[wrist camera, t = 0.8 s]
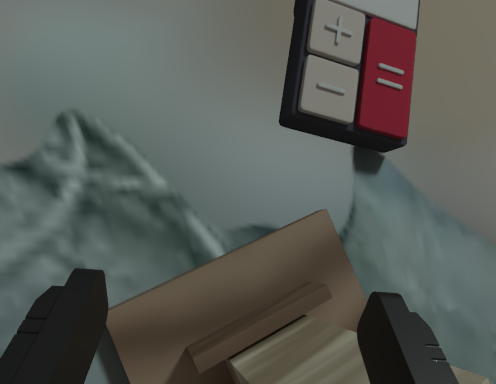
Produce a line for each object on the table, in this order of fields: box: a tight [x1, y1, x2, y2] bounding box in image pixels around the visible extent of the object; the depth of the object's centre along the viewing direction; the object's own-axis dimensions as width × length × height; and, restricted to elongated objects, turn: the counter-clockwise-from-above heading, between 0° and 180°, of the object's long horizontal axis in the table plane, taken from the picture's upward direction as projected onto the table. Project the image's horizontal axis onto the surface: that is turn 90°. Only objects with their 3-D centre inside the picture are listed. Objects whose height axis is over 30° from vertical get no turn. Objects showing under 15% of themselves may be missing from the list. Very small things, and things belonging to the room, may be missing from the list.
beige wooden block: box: [225, 314, 490, 384], centre depth 19 cm, size 2×6×16 cm, turn 115°
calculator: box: [279, 0, 420, 153], centre depth 33 cm, size 11×4×15 cm
